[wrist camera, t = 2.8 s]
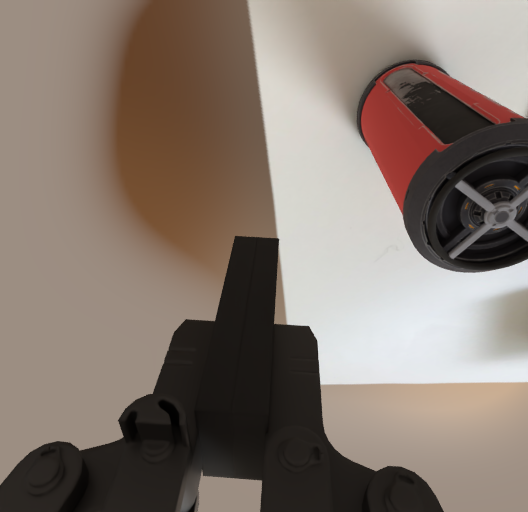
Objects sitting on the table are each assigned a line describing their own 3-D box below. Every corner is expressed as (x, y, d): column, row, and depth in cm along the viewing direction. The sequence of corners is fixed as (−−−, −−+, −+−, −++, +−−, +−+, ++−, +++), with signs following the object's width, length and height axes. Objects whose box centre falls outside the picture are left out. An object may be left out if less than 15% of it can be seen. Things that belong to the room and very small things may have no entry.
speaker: (337, 123, 32) (377, 234, 18) (403, 36, 29) (523, 89, 14) (403, 171, 35) (486, 306, 20) (472, 97, 31) (640, 197, 16)
